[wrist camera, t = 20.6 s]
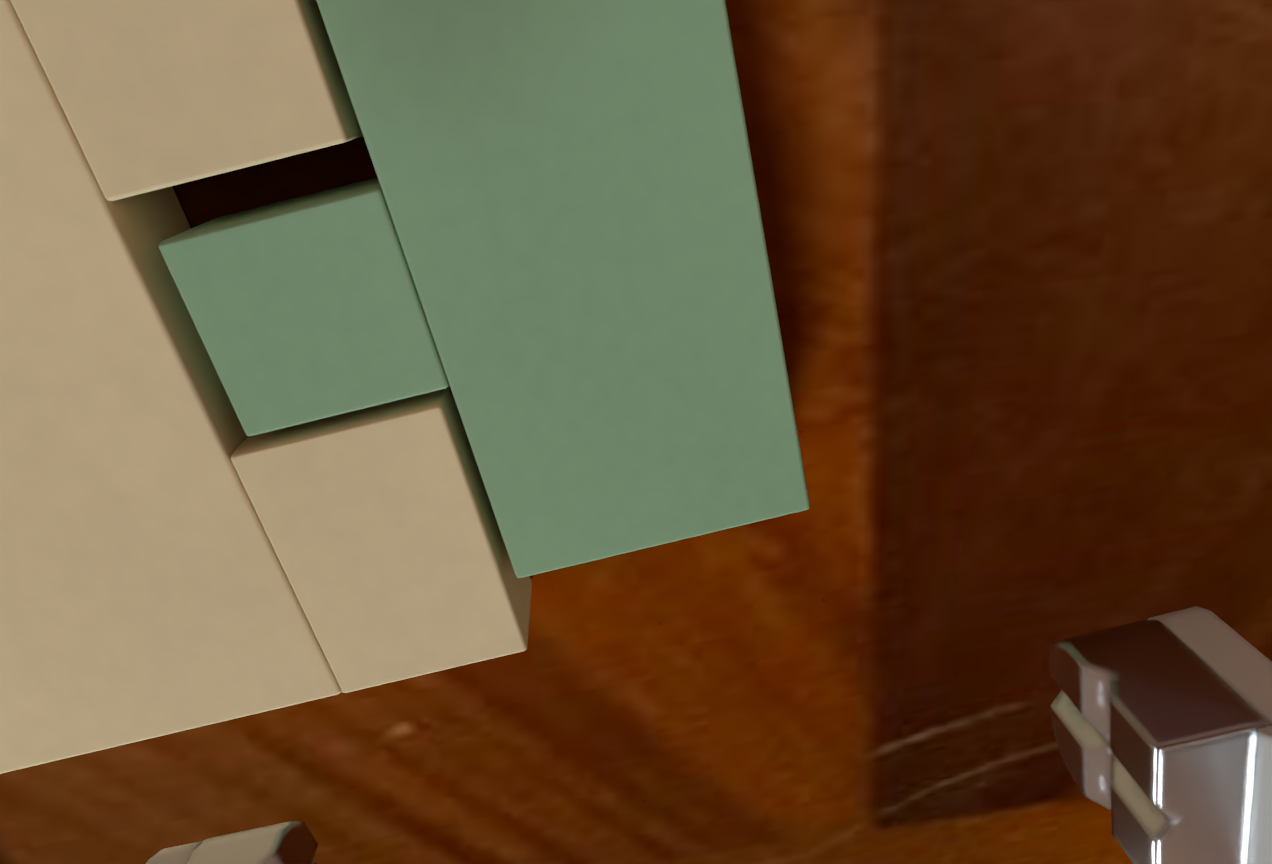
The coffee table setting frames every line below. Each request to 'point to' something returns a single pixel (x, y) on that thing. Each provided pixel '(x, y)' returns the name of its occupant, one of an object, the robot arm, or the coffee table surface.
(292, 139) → the beige pad
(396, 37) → the green pad
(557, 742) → the coffee table surface
